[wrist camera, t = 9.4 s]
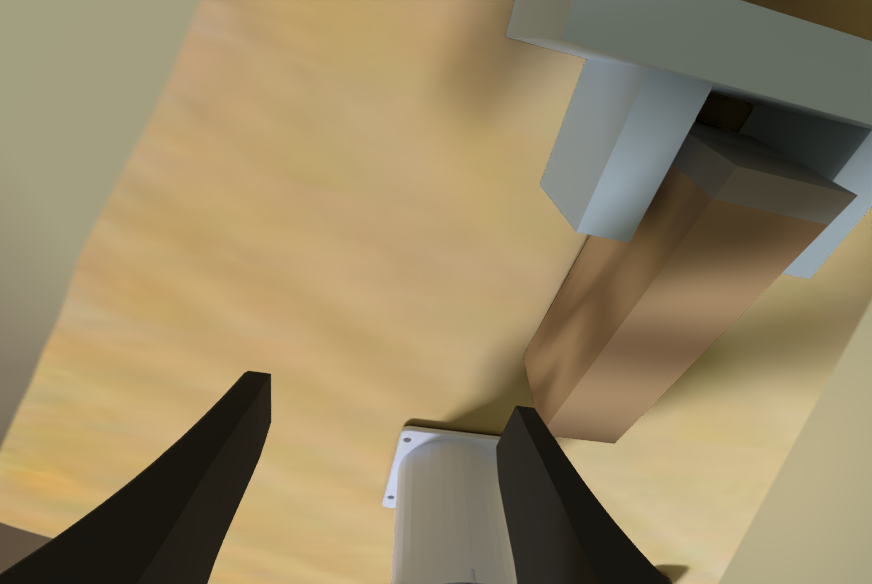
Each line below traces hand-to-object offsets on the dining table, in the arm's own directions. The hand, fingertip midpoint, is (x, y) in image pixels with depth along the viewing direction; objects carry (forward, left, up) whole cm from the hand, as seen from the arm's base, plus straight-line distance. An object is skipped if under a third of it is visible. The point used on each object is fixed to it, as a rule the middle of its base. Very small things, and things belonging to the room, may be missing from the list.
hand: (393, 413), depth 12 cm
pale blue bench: (+8, -10, -9) cm, 16 cm away
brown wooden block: (+2, -10, -9) cm, 13 cm away
